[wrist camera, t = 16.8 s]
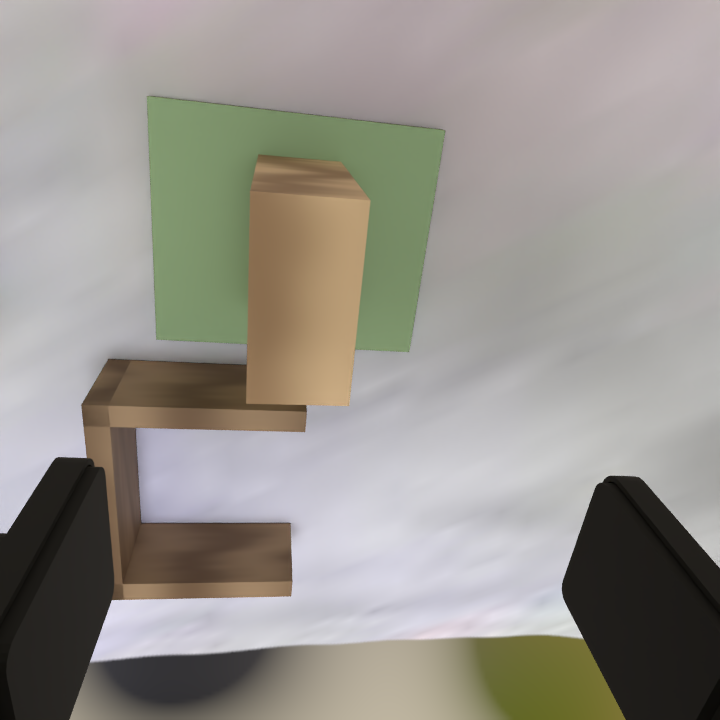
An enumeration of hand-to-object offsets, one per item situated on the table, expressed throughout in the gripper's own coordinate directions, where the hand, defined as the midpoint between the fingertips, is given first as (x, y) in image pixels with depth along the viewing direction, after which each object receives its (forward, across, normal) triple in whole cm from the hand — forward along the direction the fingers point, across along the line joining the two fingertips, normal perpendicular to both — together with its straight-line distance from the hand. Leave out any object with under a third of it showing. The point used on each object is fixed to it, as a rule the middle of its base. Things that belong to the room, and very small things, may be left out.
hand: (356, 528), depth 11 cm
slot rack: (+22, +6, +14) cm, 26 cm away
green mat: (+22, +1, 0) cm, 22 cm away
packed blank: (+21, +1, 0) cm, 21 cm away
